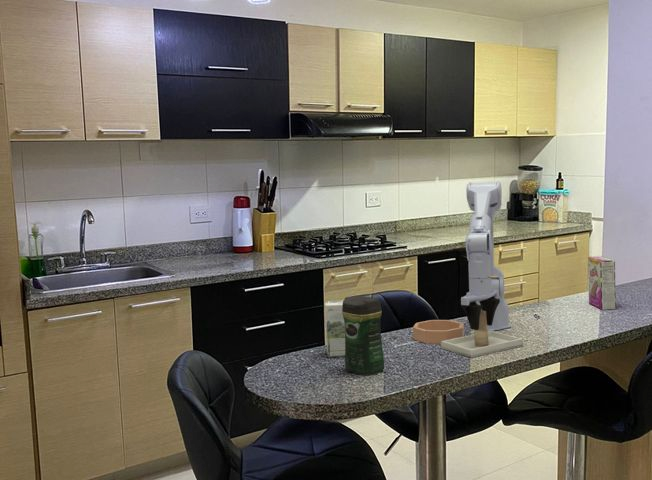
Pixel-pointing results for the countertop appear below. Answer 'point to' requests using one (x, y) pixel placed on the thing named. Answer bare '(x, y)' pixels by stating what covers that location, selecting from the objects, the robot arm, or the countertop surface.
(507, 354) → the countertop surface
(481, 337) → the wooden pin
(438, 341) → the octagonal open frame
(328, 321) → the syrup box
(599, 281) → the candy bar box
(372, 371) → the coffee jar
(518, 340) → the cream tray
